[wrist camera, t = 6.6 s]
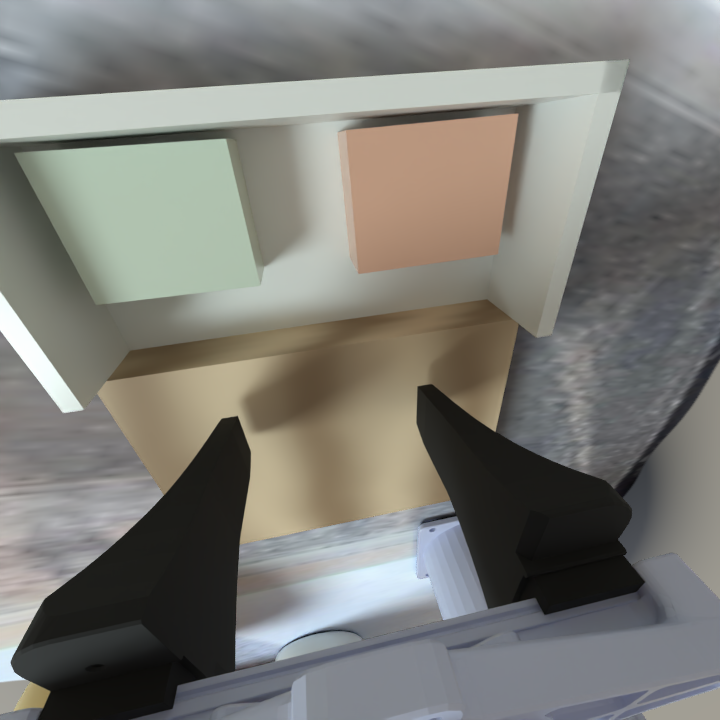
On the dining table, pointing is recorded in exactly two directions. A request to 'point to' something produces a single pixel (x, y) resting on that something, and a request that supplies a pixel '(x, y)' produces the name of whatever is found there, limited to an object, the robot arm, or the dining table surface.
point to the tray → (300, 208)
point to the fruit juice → (317, 643)
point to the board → (317, 408)
